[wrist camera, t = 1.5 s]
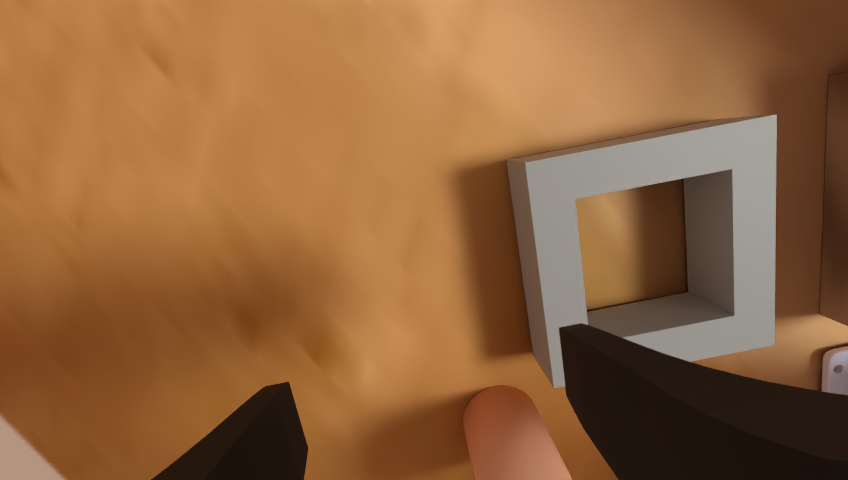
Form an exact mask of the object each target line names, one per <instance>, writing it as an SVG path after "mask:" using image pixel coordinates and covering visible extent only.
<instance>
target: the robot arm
mask: <svg viewBox="0 0 848 480" xmlns="http://www.w3.org/2000/svg"><path fill="white" fill-rule="evenodd" d="M559 335H560V343H561V352H562V361H563V370H564V379H565V388H566V396H567V398H568V400H569V401H570V403H571V405H572V407H573V409H574V411H575V413H576V415H577V417H578V419H579V421H580V423H581V425H582V426H583V428H584V430H585V431H586V433H587V434H588V436H589V437H590V439H591V440H592V442H593V443H594V445H595V446H596V448H597V449H598V450H599V452H600V453H601V455H602V456H603V458H604V459H605V461H606V462H607V463H608V465H609V466H610V468H611V469H612V471H613V472H614V473H615V475H616V476H617V478H618V479H619V480H848V346H846V347H841V348H836V349H831V350H829V351H827V352H826V353H825V354H824V356H823V369H822V391H816V390H809V389H803V388H798V387H793V386H787V385H782V384H777V383H771V382H766V381H761V380H757V379H752V378H748V377H743V376H739V375H735V374H732V373H728V372H724V371H720V370H716V369H712V368H708V367H705V366H701V365H698V364H695V363H691V362H688V361H685V360H682V359H679V358H676V357H673V356H670V355H667V354H664V353H661V352H658V351H656V350H653V349H650V348H647V347H645V346H642V345H639V344H637V343H634V342H631V341H629V340H626V339H624V338H621V337H619V336H616V335H614V334H611V333H608V332H606V331H603V330H601V329H598V328H595V327H592V326H589V325H586V324H583V323H579V324H574V325H570V326H565V327H560V328H559ZM307 453H308V446H307V443H306V439H305V436H304V432H303V429H302V425H301V422H300V419H299V415H298V412H297V408H296V405H295V402H294V398H293V395H292V391H291V388H290V384H289V382H285V383H280V384H275V385H270V386H265V387H264V388H263V389H261V390H260V391H258V392H257V393H256V394H255V395H253V396H252V397H251V398H250V399H248V400H247V401H246V402H245V403H244V404H243V405H241V406H240V407H239V408H238V409H237V410H236V411H234V412H233V413H232V414H231V415H230V416H229V417H228V418H226V419H225V420H224V421H223V422H222V423H221V424H219V425H218V426H217V427H216V428H215V429H214V430H213V431H211V432H210V433H209V434H208V435H207V436H206V437H204V438H203V439H202V440H201V441H199V442H198V443H197V444H196V445H195V446H193V447H192V448H191V449H190V450H188V451H187V452H186V453H185V454H183V455H182V456H181V457H180V458H178V459H177V460H176V461H175V462H174V463H172V464H171V465H170V466H169V467H167V468H166V469H165V470H163V471H162V472H161V473H159V474H158V475H157V476H155V477H154V478H153V479H151V480H304V474H305V468H306V460H307Z"/></svg>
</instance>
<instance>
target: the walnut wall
mask: <svg viewBox="0 0 848 480" xmlns="http://www.w3.org/2000/svg"><path fill="white" fill-rule="evenodd" d="M820 315H822V316H825V317H827V318H830V319H832V320H835V321H837V322H840V323H842V324H845V325H847V326H848V72H844V73H839V74H834V75H829V77H828V105H827V132H826V160H825V188H824V215H823V243H822V270H821V298H820Z"/></svg>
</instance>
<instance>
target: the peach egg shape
mask: <svg viewBox="0 0 848 480" xmlns="http://www.w3.org/2000/svg"><path fill="white" fill-rule="evenodd" d="M463 427H464V432H465V436H466V441H467V446H468V450H469V455H470V460H471V464H472V469H473V474H474V478H475V480H572V478H571V476H570V474H569V472H568V470H567V468H566V466H565V464H564V462H563V460H562V458H561V456H560V454H559V452H558V450H557V448H556V446H555V444H554V442H553V440H552V438H551V436H550V434H549V433H548V431H547V429H546V427H545V425H544V423H543V421H542V419H541V417H540V415H539V413H538V411H537V409H536V407H535V405H534V403H533V401H532V400H531V398H530V397H529V396H528V395H527V394H526V393H524V392H523V391H521V390H519V389H517V388H515V387H511V386H494V387H490V388H487V389H485V390H483V391H481V392H479V393H478V394H477V395H475V396H474V397H473V398H472V399H471V400H470V402H469V403H468V405H467V407H466V409H465V411H464V415H463Z"/></svg>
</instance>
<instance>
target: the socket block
mask: <svg viewBox="0 0 848 480" xmlns="http://www.w3.org/2000/svg"><path fill="white" fill-rule="evenodd" d="M776 143H777V114H775V115H763V116H751V117H739V118H727V119H718V120H712V121H707V122H702V123H697V124H691V125H686V126H681V127H676V128H671V129H665V130H660V131H655V132H650V133H645V134H639V135H634V136H629V137H624V138H618V139H613V140H608V141H603V142H598V143H592V144H587V145H582V146H577V147H572V148H566V149H561V150H556V151H551V152H545V153H540V154H535V155H530V156H525V157H519V158H514V159H509V160H506V161H507V168H508V175H509V183H510V190H511V197H512V204H513V212H514V219H515V226H516V233H517V241H518V248H519V255H520V262H521V270H522V277H523V284H524V291H525V299H526V306H527V313H528V320H529V328H530V335H531V342H532V349H533V355H534V357H535V359H536V360H537V362H538V363H539V365H540V367H541V368H542V370H543V372H544V373H545V375H546V376H547V378H548V380H549V381H550V383H551V384H552V386H553V388H558V387H564V386H565V379H564V370H563V361H562V352H561V343H560V335H559V328H560V327H565V326H570V325H574V324H579V323H583V324H586V325H589V326H592V327H595V328H598V329H601V330H603V331H606V332H608V333H611V334H614V335H616V336H619V337H621V338H624V339H626V340H629V341H631V342H634V343H637V344H639V345H642V346H645V347H647V348H650V349H653V350H656V351H658V352H661V353H664V354H667V355H670V356H673V357H676V358H679V359H682V360H685V361H688V362H691V361H696V360H701V359H707V358H712V357H717V356H722V355H727V354H732V353H737V352H742V351H747V350H753V349H758V348H763V347H768V346H773V345H775V249H776ZM683 178H684V202H685V226H686V250H687V274H688V292H686V293H681V294H676V295H671V296H666V297H660V298H655V299H650V300H645V301H640V302H635V303H630V304H624V305H619V306H614V307H609V308H604V309H599V310H594V311H588V312H587V309H586V300H585V290H584V280H583V270H582V261H581V251H580V241H579V231H578V222H577V212H576V202H575V199H579V198H585V197H590V196H595V195H600V194H605V193H611V192H616V191H621V190H626V189H631V188H637V187H642V186H647V185H652V184H657V183H662V182H668V181H673V180H678V179H683Z"/></svg>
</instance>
